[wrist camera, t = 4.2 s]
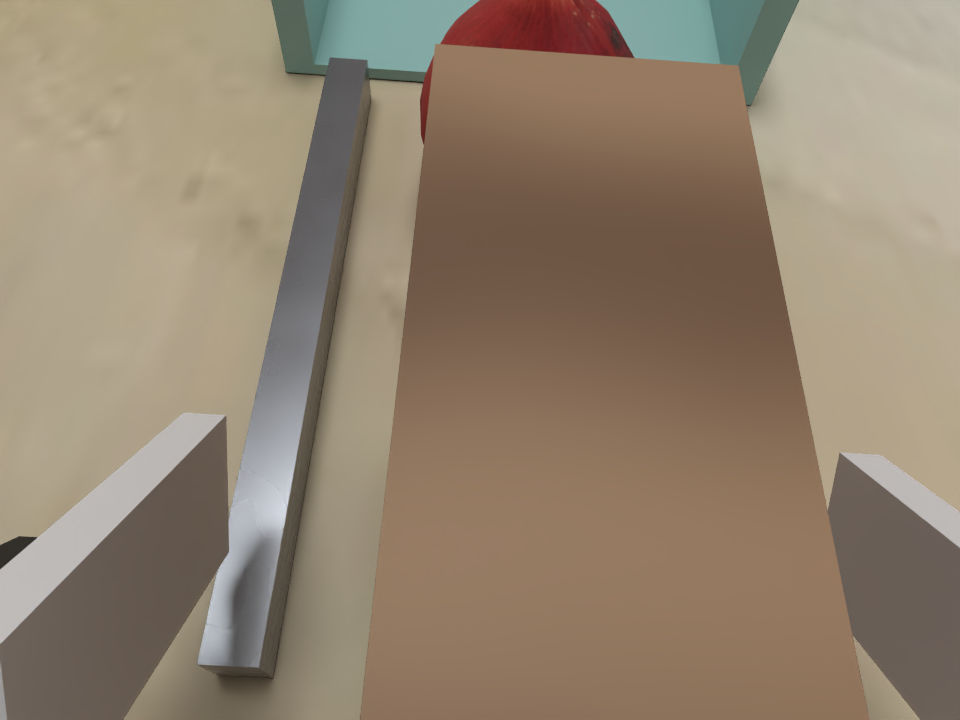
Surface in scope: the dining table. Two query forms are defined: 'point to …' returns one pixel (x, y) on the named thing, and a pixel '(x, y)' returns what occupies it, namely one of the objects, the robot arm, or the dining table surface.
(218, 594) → the slot rails
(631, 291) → the pusher block
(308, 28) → the tray
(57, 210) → the dining table surface
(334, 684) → the dining table surface
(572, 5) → the onion
